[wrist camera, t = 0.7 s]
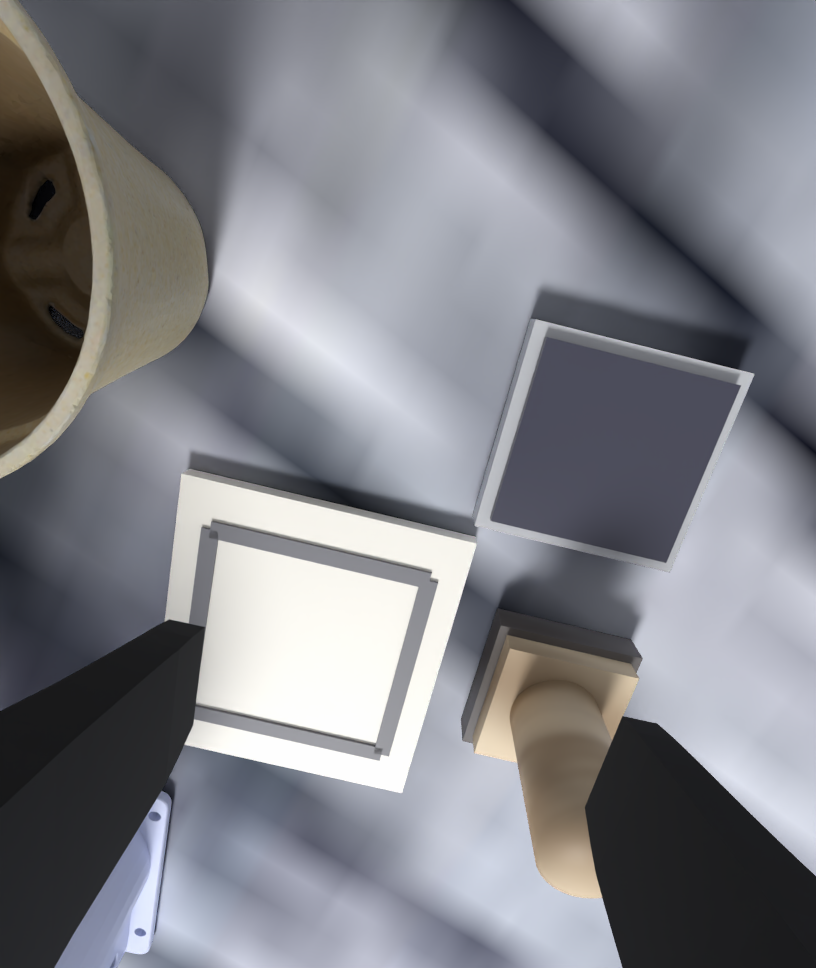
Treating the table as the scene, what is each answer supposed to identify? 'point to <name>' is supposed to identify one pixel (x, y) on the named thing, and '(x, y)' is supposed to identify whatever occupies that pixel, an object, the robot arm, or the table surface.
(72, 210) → the flower pot
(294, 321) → the table surface
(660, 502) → the ink pad
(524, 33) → the table surface
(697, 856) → the robot arm
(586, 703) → the stamp
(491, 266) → the table surface
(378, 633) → the print card
